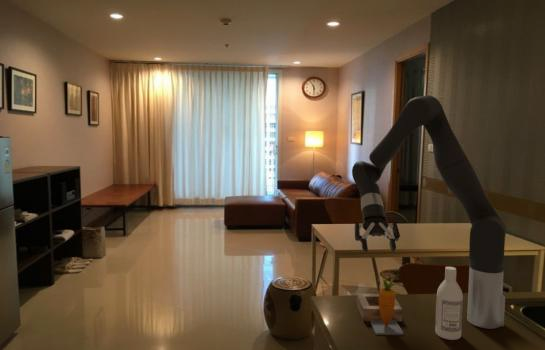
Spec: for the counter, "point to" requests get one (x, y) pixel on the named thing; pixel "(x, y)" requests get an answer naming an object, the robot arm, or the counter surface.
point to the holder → (375, 308)
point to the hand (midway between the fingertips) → (379, 251)
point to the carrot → (386, 302)
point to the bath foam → (449, 307)
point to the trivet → (386, 328)
